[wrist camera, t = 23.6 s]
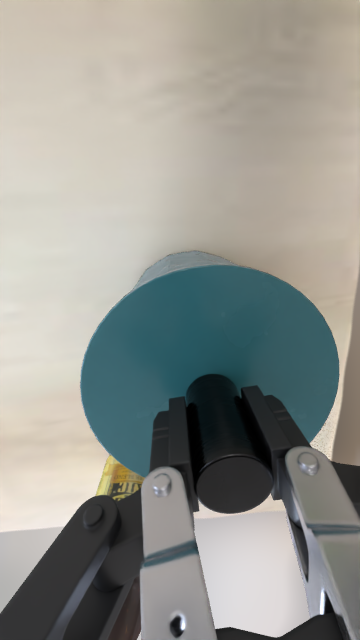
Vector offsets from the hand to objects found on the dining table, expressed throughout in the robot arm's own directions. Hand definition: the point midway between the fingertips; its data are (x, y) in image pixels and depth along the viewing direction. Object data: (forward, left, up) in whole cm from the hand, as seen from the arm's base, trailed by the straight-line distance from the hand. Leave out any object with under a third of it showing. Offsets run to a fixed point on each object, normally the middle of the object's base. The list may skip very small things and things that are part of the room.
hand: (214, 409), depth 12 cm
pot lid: (0, 0, -2) cm, 2 cm away
